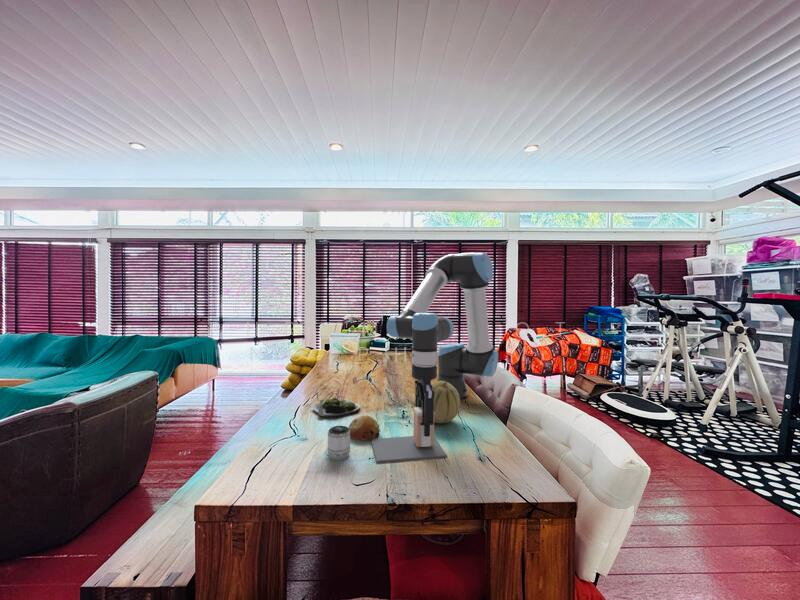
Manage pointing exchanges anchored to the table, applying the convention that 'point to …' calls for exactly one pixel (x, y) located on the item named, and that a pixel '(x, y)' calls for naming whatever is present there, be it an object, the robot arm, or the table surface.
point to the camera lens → (338, 442)
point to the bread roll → (364, 428)
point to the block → (418, 427)
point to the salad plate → (336, 408)
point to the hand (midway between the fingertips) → (423, 441)
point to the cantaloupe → (445, 401)
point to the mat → (404, 449)
